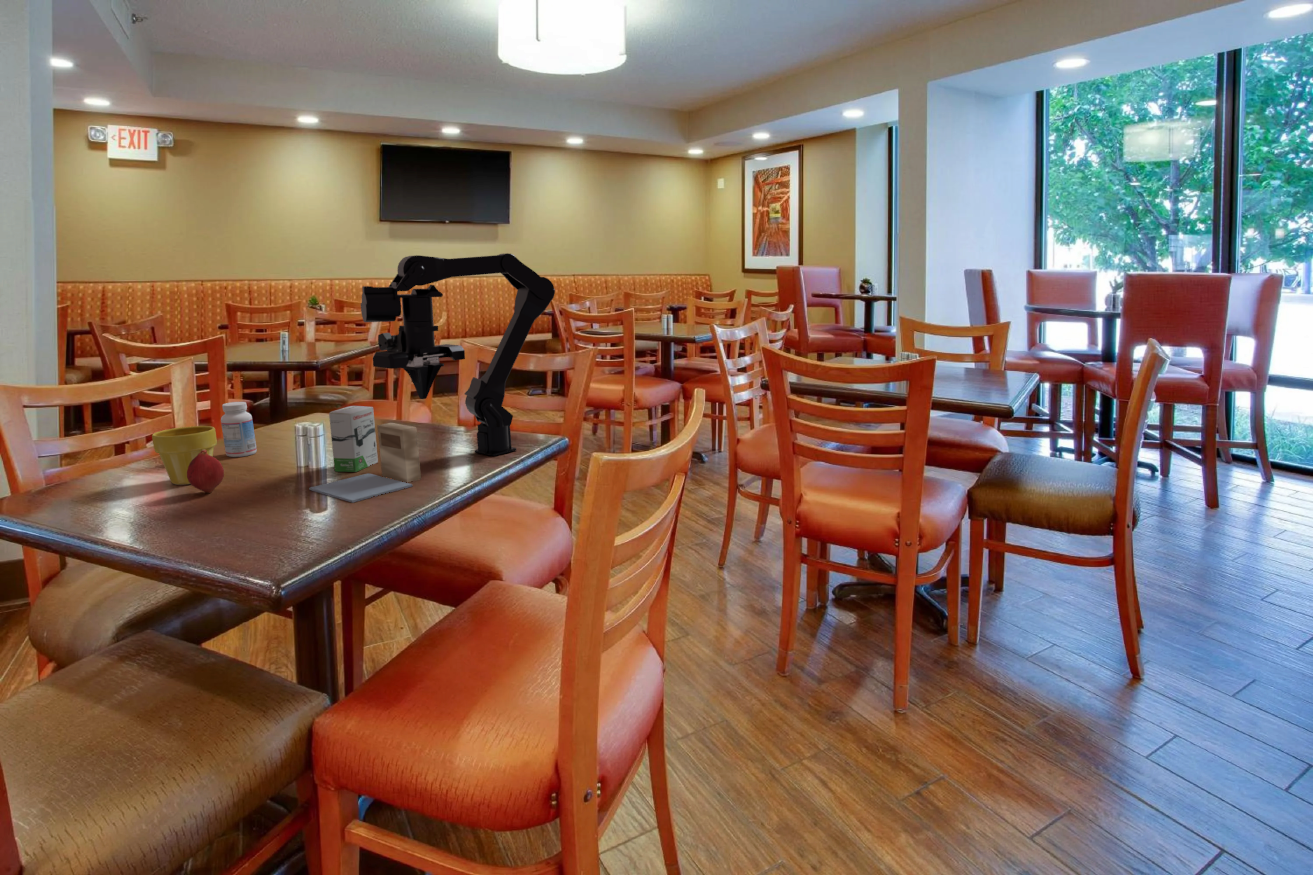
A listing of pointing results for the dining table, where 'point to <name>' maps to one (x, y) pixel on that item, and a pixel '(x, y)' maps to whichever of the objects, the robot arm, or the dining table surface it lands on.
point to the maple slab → (399, 452)
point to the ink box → (353, 438)
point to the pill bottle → (238, 430)
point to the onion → (205, 472)
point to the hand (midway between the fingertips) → (423, 398)
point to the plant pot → (183, 448)
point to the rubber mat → (360, 487)
